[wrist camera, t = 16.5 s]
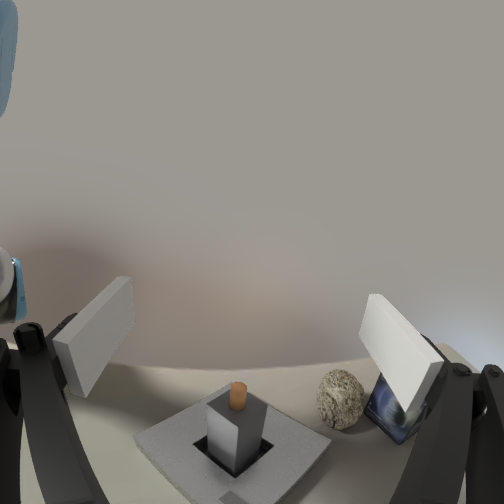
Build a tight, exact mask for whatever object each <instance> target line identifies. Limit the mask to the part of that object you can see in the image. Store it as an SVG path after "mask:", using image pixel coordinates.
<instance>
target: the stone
mask: <svg viewBox="0 0 504 504" xmlns="http://www.w3.org/2000/svg"><path fill="white" fill-rule="evenodd" d="M317 396H318V398H317V406H318V409H319V414H320V417H321V419H322V420H323V421H324V422H325V423H326V424H327V426H329V427H333V428H334V429H337V430H343V429H345V428H347V427H349V426H351V425H353V424H355V423H356V422H357V421H358V420H359V418H360V417H361V415H362V413H363V402H362V401H363V399H364V388H363V387H362V385H361V384H360V383H359V382H358V381H357V379H356V378H355V376H353V375H351V374H350V373H349V372H347V371H345V370H337V369H335V370H332V371H330V372H328V373H327V374H326V375H325V376H324V377H323V379H322V380H321V384H320V386H319V387H318V389H317Z"/></svg>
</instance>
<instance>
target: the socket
mask: <svg viewBox="0 0 504 504" xmlns="http://www.w3.org/2000/svg"><path fill="white" fill-rule="evenodd" d="M231 384H232V382H231V383H229V384H228V385H226V386H225V387H223V388H221V389H220V390H218V391H216V392H214V393H213V394H211V395H209V396H208V397H206V398H204V399H202V400H201V401H199V402H197V403H195V404H194V405H192V406H190V407H188V408H186V409H184V410H183V411H181V412H179V413H177V414H175V415H173V416H171V417H169V418H168V419H166V420H164V421H162V422H160V423H158V424H156V425H154V426H152V427H150V428H148V429H146V430H144V431H141V432H139V433H137V434H135V435H133V437H134V440H135V443H136V445H137V447H138V448H139V450H140V451H141V452H142V453H143V454H144V455H145V457H146V458H147V459H148V460H149V461H150V462H151V463H152V464H153V465H154V467H155V468H156V469H157V470H158V471H159V472H160V473H161V474H162V475H163V476H164V477H165V478H166V479H167V480H168V481H169V482H170V483H171V484H172V485H173V486H174V487H175V488H176V489H177V490H178V491H179V492H180V493H181V494H182V495H183V496H184V497H185V498H187V499H188V500H189V501H190V502H191V503H192V504H278V503H279V502H280V501H281V500H282V499H283V498H284V497H285V496H286V495H287V494H288V493H289V492H290V491H291V490H292V489H293V488H294V487H295V486H296V485H297V484H298V483H299V482H300V481H301V480H302V479H303V478H304V476H305V475H306V474H307V473H308V472H309V471H310V470H311V469H312V467H313V466H314V465H315V464H316V463H317V462H318V460H319V459H320V458H321V457H322V456H323V454H324V453H325V452H326V451H327V449H328V447H329V445H330V443H331V441H332V440H331V439H329V438H327V437H325V436H323V435H321V434H319V433H317V432H315V431H313V430H311V429H309V428H308V427H306V426H304V425H302V424H300V423H298V422H296V421H295V420H293V419H291V418H289V417H288V416H286V415H284V414H282V413H281V412H279V411H277V410H275V409H274V408H272V407H270V406H269V405H268V407H267V413H266V418H265V423H264V428H263V433H262V438H261V443H260V448H259V453H258V456H257V457H256V458H255V459H253V460H252V461H251V462H250V463H249V464H247V465H246V466H245V467H244V468H242V469H241V470H240V471H239V472H237V473H236V474H235V475H233V474H232V473H230V472H229V471H228V470H227V469H225V468H224V467H223V466H221V465H220V464H219V463H218V462H216V461H215V460H214V459H213V458H211V457H210V456H209V455H208V440H207V413H206V404H207V403H208V402H210V401H212V400H213V399H215V398H217V397H218V396H220V395H221V394H223V393H225V392H226V391H228V390H230V386H231ZM255 398H256V397H255Z"/></svg>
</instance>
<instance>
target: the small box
mask: <svg viewBox="0 0 504 504" xmlns="http://www.w3.org/2000/svg"><path fill="white" fill-rule="evenodd" d="M427 406H428V404H427V403H426V401H425V400H424V401H423V403H422V405H421V406H420V408H419V410H415V411H411V412H406V413H405V412H404V410H403V408H402V406H401V405H400V403H399V401H398V400H397V398H396V396H395V394H394V393H393V391H392V389H391V388H390V386H389V384H388V383H387V381H386V379H385V378H384V376H383V374H382V373H380V376H379V378H378V380H377V382H376V385H375V387H374V390H373V392H372V394H371V396H370V398H369V400H368V403H367V405H366V407H365V409H364V411H363V412H364V413H365V414H366V415H367V416H368V417H369V418H370V419H371V420H372V421H373V422H374V423H376V424H377V425H378V426H379V427H380V428H381V429H382V430H383V431H384V432H385V433H386V434H387V435H389V436H390V437H391V438H392V439H393V440H394V441H395V442H396V443H397V444H398V445H400V444H402V443H403V442H404V441H406V440H407V439H408V438H410V437H411V436H412V435H413V434H414V433H416V432H417V431H418V430H419V428H420V424H421V421H422V420H421V421H420V423H417V422H418V420H419V419H420V417H421V416H422V414H423V412H424V411H425V409H426V407H427Z"/></svg>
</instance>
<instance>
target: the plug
mask: <svg viewBox="0 0 504 504" xmlns="http://www.w3.org/2000/svg"><path fill="white" fill-rule="evenodd" d="M267 407H268V405H267V404H265V403H264V402H262V401H260V400H259V399H257V398H255V397H254V396H252V395H251V394H249V393H248V392H247V386H246V385H245V384H244V383H242V382H235V383H232V384H231V386H230V390H228V391H226V392H225V393H223V394H221V395H220V396H218V397H217V398H215V399H213V400H212V401H210V402H208V403H207V404H206V413H207V440H208V455H209V456H210V457H211V458H213V459H214V460H215V461H216V462H218V463H219V464H220V465H221V466H223V467H224V468H225V469H227V470H228V471H229V472H230V473H232V474H233V475H235V474H236V473H237V472H239V471H240V470H241V469H242V468H244V467H245V466H246V465H247V464H249V463H250V462H251V461H252V460H253V459H255V458H256V457H257V456H258V453H259V448H260V443H261V438H262V433H263V428H264V423H265V418H266V413H267Z"/></svg>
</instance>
